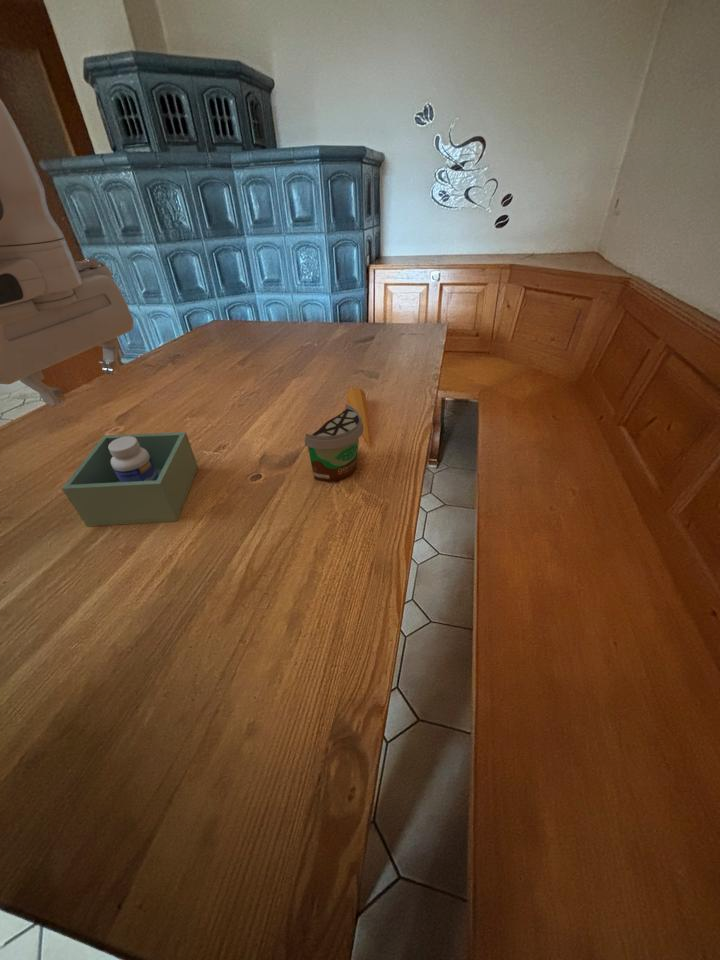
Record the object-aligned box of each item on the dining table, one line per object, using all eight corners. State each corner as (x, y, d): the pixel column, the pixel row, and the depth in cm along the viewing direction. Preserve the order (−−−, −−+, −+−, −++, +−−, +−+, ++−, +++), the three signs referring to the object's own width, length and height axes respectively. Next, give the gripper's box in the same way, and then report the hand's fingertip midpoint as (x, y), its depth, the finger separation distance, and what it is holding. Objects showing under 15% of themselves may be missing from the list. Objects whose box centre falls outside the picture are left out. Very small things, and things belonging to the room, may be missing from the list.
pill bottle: (159, 500, 62) (136, 451, 56) (123, 504, 62) (97, 455, 55) (166, 479, 66) (146, 431, 60) (133, 482, 66) (109, 435, 59)
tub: (177, 521, 60) (160, 483, 55) (86, 526, 59) (61, 488, 54) (198, 467, 70) (185, 431, 65) (122, 471, 69) (103, 435, 64)
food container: (337, 496, 64) (335, 447, 58) (308, 483, 67) (303, 435, 60) (375, 459, 72) (377, 412, 66) (348, 448, 75) (347, 402, 68)
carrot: (349, 403, 90) (341, 388, 87) (367, 396, 89) (360, 380, 86) (364, 461, 76) (355, 445, 73) (385, 452, 75) (377, 436, 72)
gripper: (83, 253, 51) (123, 355, 60) (-95, 290, 36) (-6, 420, 44) (123, 256, 50) (158, 360, 58) (-44, 295, 34) (37, 428, 43)
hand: (86, 386), depth 51 cm, fingers open, 8 cm apart
